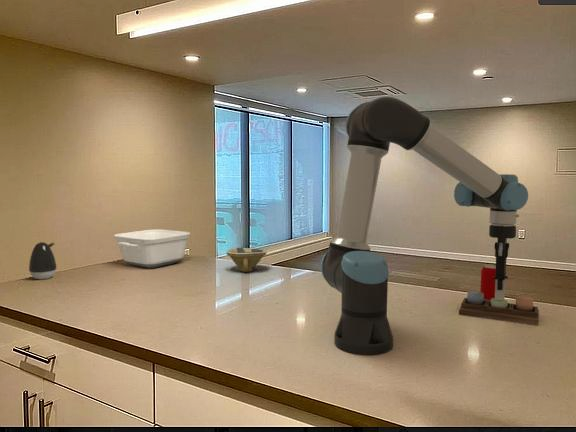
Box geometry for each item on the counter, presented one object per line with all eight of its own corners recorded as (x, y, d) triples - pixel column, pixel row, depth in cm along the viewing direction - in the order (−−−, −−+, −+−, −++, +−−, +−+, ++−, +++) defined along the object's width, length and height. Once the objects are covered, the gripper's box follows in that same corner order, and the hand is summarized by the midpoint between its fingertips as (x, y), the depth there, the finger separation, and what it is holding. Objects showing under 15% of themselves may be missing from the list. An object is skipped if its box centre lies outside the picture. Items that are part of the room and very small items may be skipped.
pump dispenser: (62, 277, 196) (60, 241, 195) (38, 282, 188) (36, 244, 186) (48, 274, 202) (47, 239, 200) (24, 278, 193) (22, 242, 192)
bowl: (265, 275, 200) (265, 253, 199) (224, 274, 201) (223, 253, 200) (267, 266, 218) (267, 246, 217) (229, 266, 218) (229, 246, 217)
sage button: (506, 312, 142) (507, 303, 142) (489, 310, 144) (490, 301, 144) (507, 308, 146) (508, 299, 146) (491, 306, 148) (491, 297, 148)
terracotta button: (532, 311, 139) (533, 301, 138) (515, 309, 141) (515, 299, 141) (533, 307, 143) (533, 297, 142) (515, 305, 145) (516, 295, 145)
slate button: (482, 304, 145) (482, 295, 145) (466, 302, 147) (466, 293, 147) (484, 301, 149) (484, 292, 149) (468, 299, 152) (468, 290, 151)
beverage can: (495, 303, 157) (497, 269, 156) (477, 300, 161) (478, 266, 160) (502, 300, 161) (503, 266, 160) (483, 296, 166) (485, 263, 164)
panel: (538, 325, 135) (538, 315, 135) (458, 314, 145) (459, 305, 145) (538, 314, 145) (539, 305, 145) (464, 304, 156) (464, 296, 156)
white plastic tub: (145, 274, 202) (144, 240, 201) (104, 266, 218) (103, 235, 216) (200, 261, 231) (199, 232, 229) (160, 255, 246) (159, 228, 245)
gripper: (515, 227, 135) (511, 306, 137) (517, 223, 147) (513, 295, 149) (487, 226, 139) (484, 303, 141) (491, 221, 150) (488, 293, 152)
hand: (499, 299), depth 145 cm, fingers closed
